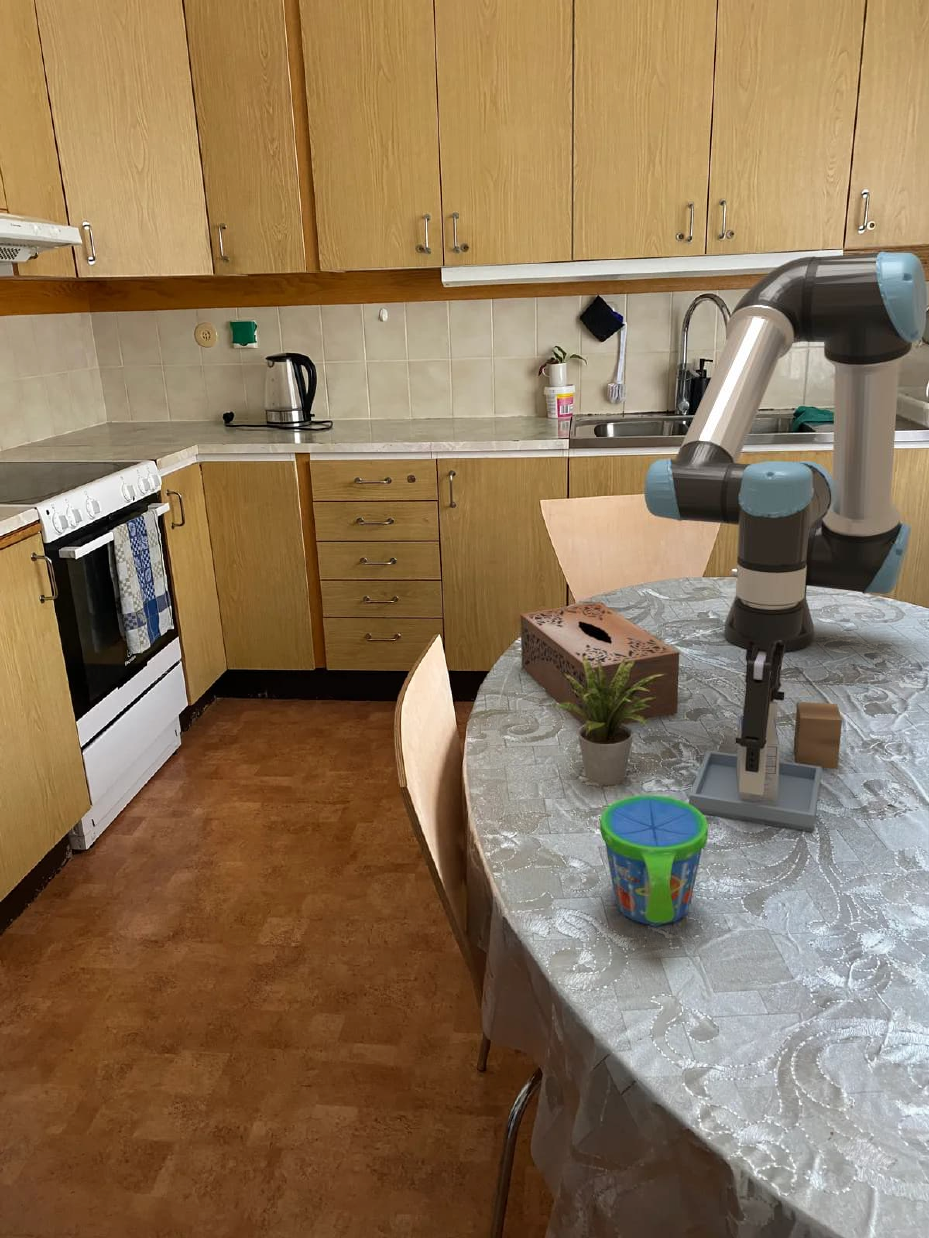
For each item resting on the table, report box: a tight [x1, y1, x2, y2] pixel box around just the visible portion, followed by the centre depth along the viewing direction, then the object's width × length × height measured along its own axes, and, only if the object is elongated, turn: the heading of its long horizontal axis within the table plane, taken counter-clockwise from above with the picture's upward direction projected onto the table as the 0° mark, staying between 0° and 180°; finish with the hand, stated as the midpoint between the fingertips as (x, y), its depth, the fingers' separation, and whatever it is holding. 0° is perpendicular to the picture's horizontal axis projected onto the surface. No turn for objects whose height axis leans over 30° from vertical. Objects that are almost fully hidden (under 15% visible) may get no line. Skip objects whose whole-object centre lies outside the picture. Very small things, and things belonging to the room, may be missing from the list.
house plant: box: [556, 657, 668, 786], centre depth 119 cm, size 14×14×16 cm
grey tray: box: [688, 749, 823, 833], centre depth 116 cm, size 12×14×2 cm
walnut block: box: [792, 701, 843, 770], centre depth 124 cm, size 5×5×7 cm
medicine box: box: [736, 715, 781, 807], centre depth 115 cm, size 8×4×9 cm, turn 167°
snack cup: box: [599, 794, 709, 927], centre depth 95 cm, size 16×10×10 cm
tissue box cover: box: [519, 601, 680, 726], centre depth 147 cm, size 26×14×10 cm, turn 19°
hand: (757, 769), depth 115 cm, fingers open, 11 cm apart
